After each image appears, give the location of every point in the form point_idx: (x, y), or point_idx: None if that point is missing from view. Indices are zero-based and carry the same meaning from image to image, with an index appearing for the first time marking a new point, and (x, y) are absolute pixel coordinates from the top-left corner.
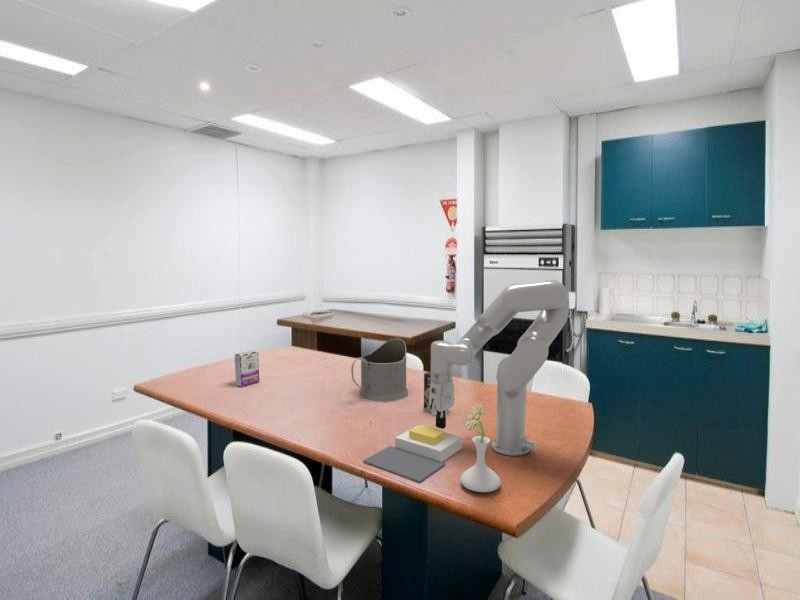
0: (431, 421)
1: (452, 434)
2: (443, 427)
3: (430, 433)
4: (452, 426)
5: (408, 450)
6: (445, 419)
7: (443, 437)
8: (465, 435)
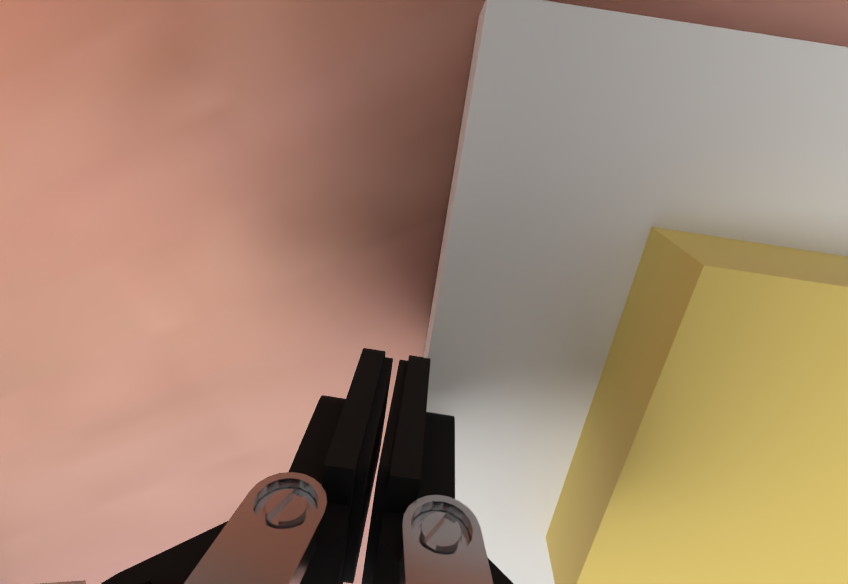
0: (61, 523)
1: (460, 187)
2: (426, 365)
3: None
4: (9, 343)
5: None
6: (350, 430)
7: (714, 244)
8: (107, 133)
